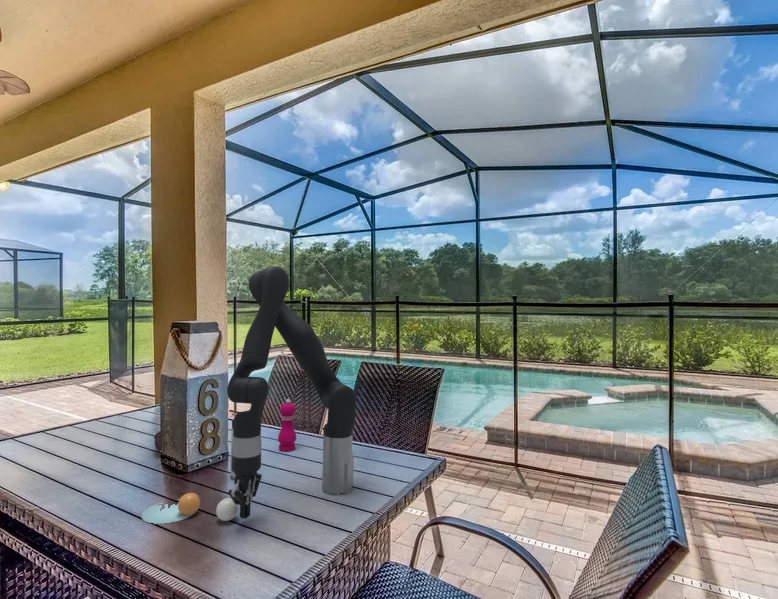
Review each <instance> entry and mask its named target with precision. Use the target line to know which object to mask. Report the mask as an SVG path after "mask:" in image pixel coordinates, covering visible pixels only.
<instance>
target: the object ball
mask: <svg viewBox="0 0 778 599" xmlns="http://www.w3.org/2000/svg"><path fill="white" fill-rule="evenodd" d="M178 500H179V502H178V510H179V512H180V513H181V514H183V515H191V514H193V513H194V514H196V512H197V511H198V509H199V508H200V505H201V499H200V496H199V495H198V494H196V493H194V492H189V493H188V492H187V493H185V494H183V495H182V496H181V497H179V499H178ZM194 514H193V515H194ZM191 516H192V515H191Z"/></svg>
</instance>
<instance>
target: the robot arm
mask: <svg viewBox="0 0 778 599" xmlns="http://www.w3.org/2000/svg"><path fill="white" fill-rule="evenodd" d="M289 287H290V279H289V275H288V273H287V272H286V270H285V269H283V268H282V267H280V266H278V265H277V266H276V265H272V266H268V267H266V268H264V269H261V270H259V271H257V272H255V273H253V274H252V275H251V276H250V277H249V279H248V289H249V292H250V294H251V296H252V298H253V299H254V300H255V301H256V302H257V304H258V305H259V308H258V311H257V313H256V315H255V317H254V318H253V321H252V323H251V325H250V327H249V329H248V331H247V333H246V336H245V339H244V344H243V347H242V352H241V357H240V359H239V362H238V364H237V366H236V368H235V370H234V372H233V374H232V376H231V377H230V379H229V382H228V384H227V388H226V393H227V394H226V395H227V397H228V399H229V401H230V402H232V403H236V404H249V405H250V408H249V410H243V411H239V412H237V413H235V415H234V417H233V420H234V426H233V441H232V464H231V463H230V471H231V470H232V471H233V472H234V473H235V475H236V476H235V480H233V484H234V486H233V488H232V489H229V490H228V495H229V498H231V499H232V500H233V502H234V503H235V504H237V505H238V506H239V518H241V519H244V520H245V519H247V518H249V517H250V516H251V506H252V505H251V503H252V501H253V498H256V495H257V492H258V489H259V486H260V483H261V481H262V476H263V474H260V473H258V471H260V469H261V468H262V435H261V434H262V418H263V413H264V409H265V405H266V402H267V399H268V396H269V389H270V388H269V383H268V381H267V380H266V379H265V378H264V377H260V376H250V375H251V374H252V373H253V372H255V371H261V370H263V369H265V368H266V367H267V364H268V360H269V355H270V354H269V353H270V350H271V345H272V344H271V343H272V340H273V335H274V332H275V329H276V330H277V331H278V334H280V336H281V337H282V340H284V343H285V344H286V346H287V348H288V349H289V351H290V352H291V354H292V355H293V357H294V359H295V361H296V362H297V363H298V365H299V366H300V367H301V369H302V370H303V371H304V372H305V374H306V375H307V376H308V378H309V379H310V381H311V383H312V384H313V386H314V388H315V390H316V393H317V394H318V395H317V396H318V397H319V399H320V401H321V403H322V404H323V406H324V407H325V408H326V409H327V421H326V422H327V423H326V424H324V425H323V429H322V430H323V434H322V436H323V437H322V473H321V476H322V477H321V478H322V479H321V483H322V484H321V488H322V489H323V490H322V489H321V490H322V491H323V492H324V491H325V492H324V493H326V492H328V493H327V494H329V493H332V494H331V495H339V494H338V493H343V494H345V493H349V492H350V491H351V490H352V489H353V487H354V477H355V476H354V473H355V472H354V471H355V470H354V469H355V468H354V467H355V466H354V465H355V457H354V456H353V432H354V431H353V430H354V427H355V424H356V412H357V398H356V397H357V396H356V393H355V391H354V390H353V388H351V387H350V386H348V385H346V384H345V383H343V382H341V381H340V379H339V378H338V377H337V375H336V374H335V373H334V371H333V370H332V368H331V367H330V365H329V362H328V359H327V355H326V352H325V348H324V346H323V343H322V342H321V341H320V338H319V336H318V335H317V333H316V331H315V330H314V329H313V327H312V326H311V325H310V324H309V323H308V322H307V321H306V320H304V319H303V318H302V317H301V316H299V315H297V314H296V313H295V312H294V311H292V310H291V309H290V307H289V306H288V305H287V303H286V302H285V299H286V297H287V293H288V291H289ZM352 486H353V487H352ZM350 489H351V490H350ZM349 490H350V491H349ZM348 491H349V492H348Z"/></svg>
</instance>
